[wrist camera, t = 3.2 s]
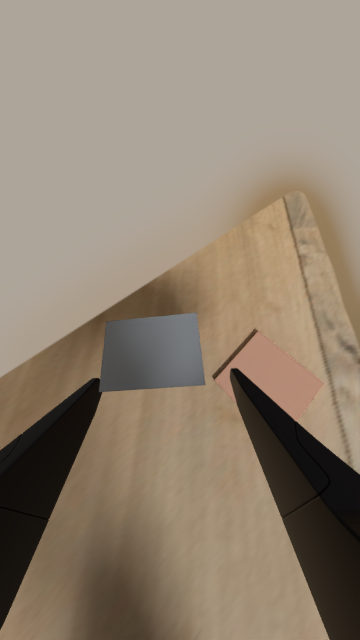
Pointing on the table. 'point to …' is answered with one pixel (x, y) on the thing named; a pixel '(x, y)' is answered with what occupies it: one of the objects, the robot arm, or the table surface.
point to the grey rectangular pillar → (152, 353)
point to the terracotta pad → (273, 375)
